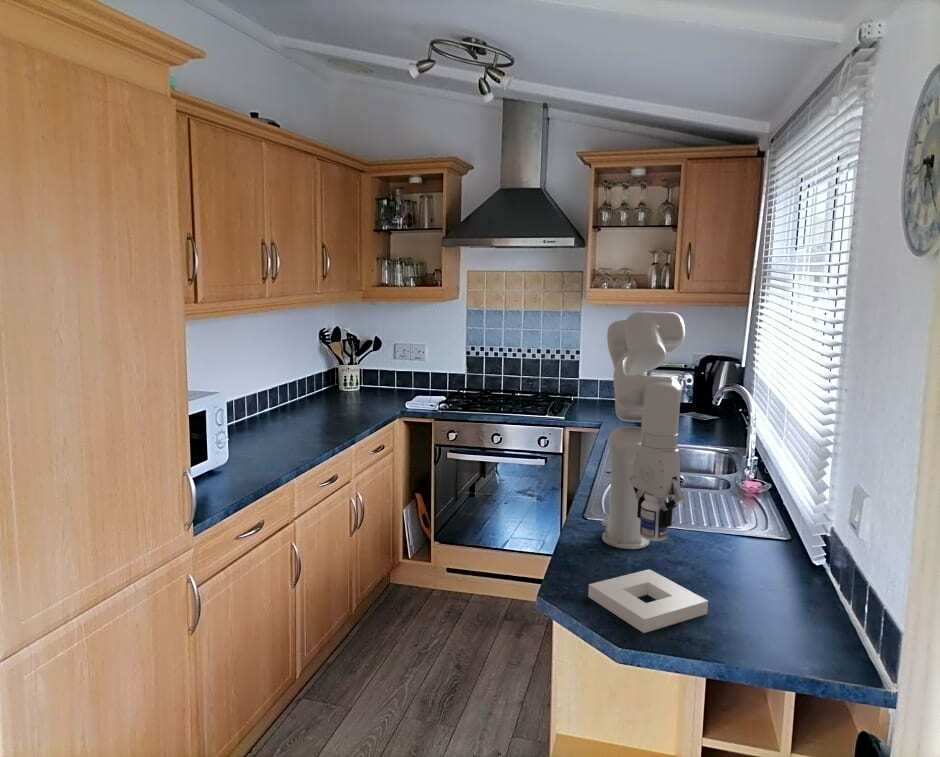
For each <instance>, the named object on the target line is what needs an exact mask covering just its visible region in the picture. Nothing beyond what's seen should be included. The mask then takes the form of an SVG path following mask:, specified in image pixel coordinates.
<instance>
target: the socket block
mask: <svg viewBox="0 0 940 757" xmlns="http://www.w3.org/2000/svg"><path fill="white" fill-rule="evenodd" d="M587 594H588V596H587V597H588V598H589V599H591V600H592V601H594V602H596V603H597V604H598V605H600V606H602V607H603V608H605V609H606V610H608V611H609V612H611V613H612V614H614V615H616V616H617V617H618V618H620V619H622V620H623V621H625V622H626V623H628V624H629V625H630V626H632V627H633V628H635V629H637V630H638V631H640V632H641V633H643V634H645V633H649V632H653V631H655V630H659V629H662V628H667V627H668V626H672V625H676V624H678V623H682V622H685V621H689V620H692V619H696V618H699V617H702V616H705V615H708V608H709V607H708V606H709V600H708V599H705V598H704V597H702V596H700V595H698V594H697V593H694V592H693V591H691V590H689V589H687V588H685V587H684V586H682V585H679V584H678V583H676V582H674V581H673V580H671V579H669V578H667V577H665V576H663V575H661V574H660V573H657V572H655V571H653V570H652V569H645V570H641V571H637V572H633V573H629V574H625V575H620V576H617V577H613V578H609V579H604V580H600V581H596V582H593V583H589V584H588V593H587ZM647 595H648V596H649V597H650V598H652V599H655V600H652V601H649V602H645V601H643V600H641V599H640V597H644V596H647Z"/></svg>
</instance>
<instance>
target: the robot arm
mask: <svg viewBox="0 0 940 757" xmlns="http://www.w3.org/2000/svg"><path fill="white" fill-rule="evenodd" d="M685 335H686V328H685V323H684V319H683V318H682V316H681V315H679V314H678V313H676V312H674V311H672V312H671V311H637V312H634V313H632V314H630V315H629V316H628V317H627V318H626V319H620V320H615V321H613V322H612V323H610V324H609V326H608V328H607V336H606V339H607V347H608V348H607V349H608V352H609V356H610V359H611V361H612V364H613V367H614V370H613V377H612V378H613V388H614V389H613V390H614V408H615V415H616V417H617V419H619V420H620V421H624V422H630V423H631V422H632V423H641V426H621V427H617V428H615V429H614V430H612V431H611V433H610V435H609V440H608V444H609V453H610V454H609V455H610V486H609V487H610V489H609V505H608V506H609V508H608V515H607V516H606V517H605V518H604V519H602V521H601V524H602V525H603V526H605V529H606V530H605V531H604V532H602V535H601V538H602V541H603V542H604V543H605V544H607V545H608V546H611V547H615V548H619V549H624V550H638V549H640V550H641V549H644V548H646V547H647V546H649V545H650V540H647V539H644V538H642V537H641V535H640V520H641V504H642V502H643V501H644V500H645V498H644V492H646V493H649V494H651V495H654V496H656V497H659V498H660V501H661V506H662V509H660V511H659V525H658V526H659V527H660V528H665V527H667V528H669V527H672V523H673V522H672V521H673V519H672V518H673V510H675V509H676V507H677V506H678V505H679V504H680V503H682V502H683V501H685V498H686V497H685V495H684V493H683V490H682V489H681V487H680V485H681V462H680V453H679V452H680V451H679V449H678V438H679V427H680V426H679V424H680V423H679V421H680V407H681V402H682V397H683V395H682V394H683V392H682V391H683V389H682V385H681V384H680V383H679V381H678V380H677V379H676V378H675V377H671V376H662V375H661V376H659V375H658V376H657V375H648V372H650V371H653V370H655V369H657V368H658V367H660V366H661V365H662V364H663V363H664V360H665V358H666V353H670V352H671V353H672V351H674V350H676V349H677V348H678V347H680V346H681V345H682V343H683V341H684V338H685ZM666 498H667V499H666ZM667 500H668V501H667Z"/></svg>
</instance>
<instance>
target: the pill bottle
mask: <svg viewBox="0 0 940 757" xmlns="http://www.w3.org/2000/svg"><path fill="white" fill-rule="evenodd" d="M644 498H645V500H644V501H643V502H642V504H641V520H640V535H641V537H642V538H644V539H647V540H649V541H651V542H652V541H653V542H661V541H664V540H666V539H667V537H668V527H665V528H660V527H659V526H658V525H659V511H660V509H662V506H661V501H660V498H659V497H656V496H654V495H651V494H649V493H646V492H644ZM666 500H668V497H667V498H666Z"/></svg>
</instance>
